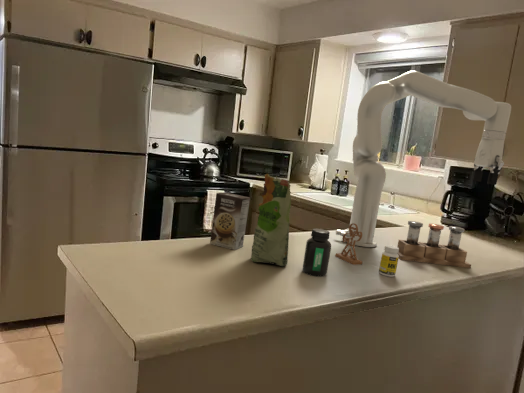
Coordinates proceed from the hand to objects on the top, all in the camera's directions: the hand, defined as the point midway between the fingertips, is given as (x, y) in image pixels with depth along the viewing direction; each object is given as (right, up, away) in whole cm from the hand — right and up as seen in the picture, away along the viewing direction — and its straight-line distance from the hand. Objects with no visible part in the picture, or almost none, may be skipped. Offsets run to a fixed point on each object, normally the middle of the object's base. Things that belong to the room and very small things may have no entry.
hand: (483, 182), depth 163 cm
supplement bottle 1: (-68, -26, -42) cm, 84 cm away
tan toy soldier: (-55, -26, -23) cm, 65 cm away
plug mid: (-22, -23, -8) cm, 33 cm away
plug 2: (-15, -24, -7) cm, 29 cm away
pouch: (-81, -24, -38) cm, 93 cm away
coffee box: (-94, -21, -26) cm, 99 cm away
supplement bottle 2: (-46, -28, -33) cm, 63 cm away
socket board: (-23, -28, -7) cm, 37 cm away
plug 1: (-30, -22, -8) cm, 38 cm away
